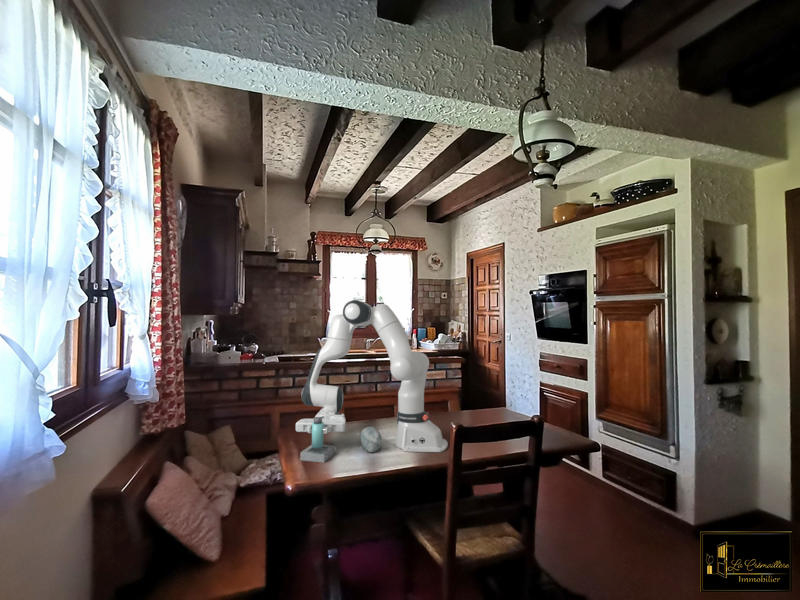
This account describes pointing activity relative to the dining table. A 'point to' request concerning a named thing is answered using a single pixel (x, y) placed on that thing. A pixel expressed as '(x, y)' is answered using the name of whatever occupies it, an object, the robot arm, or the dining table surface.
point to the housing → (317, 453)
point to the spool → (371, 439)
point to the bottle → (317, 433)
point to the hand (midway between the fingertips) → (317, 431)
